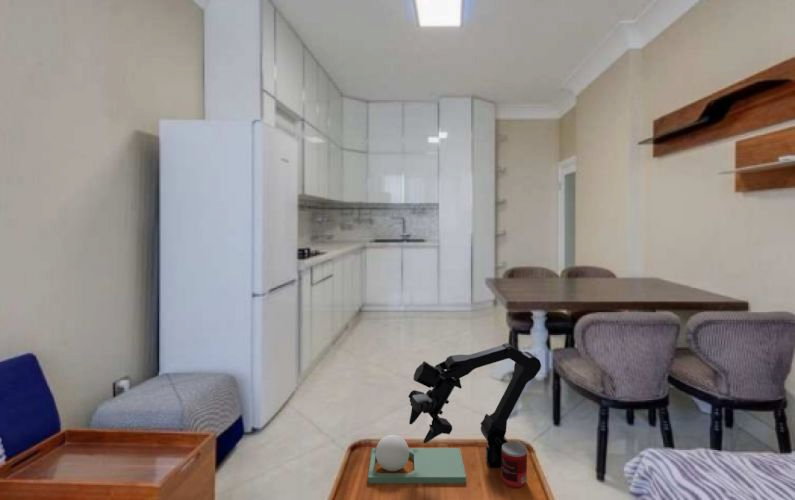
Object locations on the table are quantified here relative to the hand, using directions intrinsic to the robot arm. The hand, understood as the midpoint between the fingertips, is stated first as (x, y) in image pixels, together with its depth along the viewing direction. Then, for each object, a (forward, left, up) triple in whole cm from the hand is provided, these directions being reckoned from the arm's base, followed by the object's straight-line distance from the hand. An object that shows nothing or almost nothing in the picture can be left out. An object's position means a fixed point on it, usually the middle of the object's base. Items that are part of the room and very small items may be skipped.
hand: (417, 433), depth 149 cm
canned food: (-30, +7, -12) cm, 33 cm away
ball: (+8, 0, -7) cm, 10 cm away
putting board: (0, 0, -12) cm, 12 cm away
